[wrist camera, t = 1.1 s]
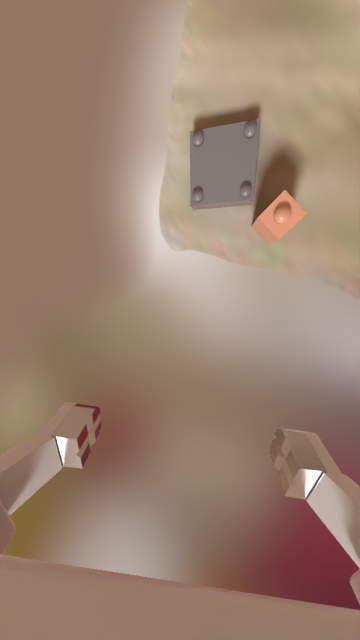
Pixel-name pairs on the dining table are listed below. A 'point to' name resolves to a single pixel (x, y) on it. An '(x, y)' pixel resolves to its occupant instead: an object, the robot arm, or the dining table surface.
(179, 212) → the dining table surface
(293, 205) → the terracotta brick
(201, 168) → the charcoal base brick
